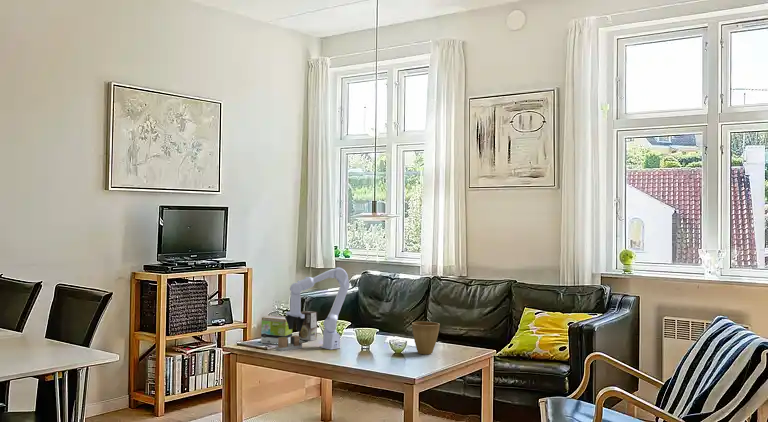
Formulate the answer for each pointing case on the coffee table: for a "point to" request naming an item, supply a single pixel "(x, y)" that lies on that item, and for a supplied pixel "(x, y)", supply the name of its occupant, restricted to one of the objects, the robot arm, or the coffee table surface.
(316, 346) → the coffee table surface
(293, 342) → the block
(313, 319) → the coffee box
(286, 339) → the rail
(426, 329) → the plant pot
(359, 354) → the coffee table surface
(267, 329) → the tea box
